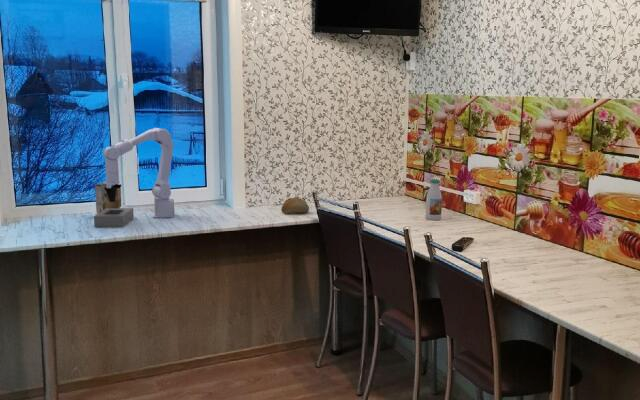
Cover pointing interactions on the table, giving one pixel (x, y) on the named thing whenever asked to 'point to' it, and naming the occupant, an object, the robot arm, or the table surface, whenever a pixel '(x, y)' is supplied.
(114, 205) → the walnut block
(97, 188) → the coffee box
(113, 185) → the robot arm
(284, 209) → the bread roll
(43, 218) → the table surface
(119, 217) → the well block
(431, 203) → the milk bottle
